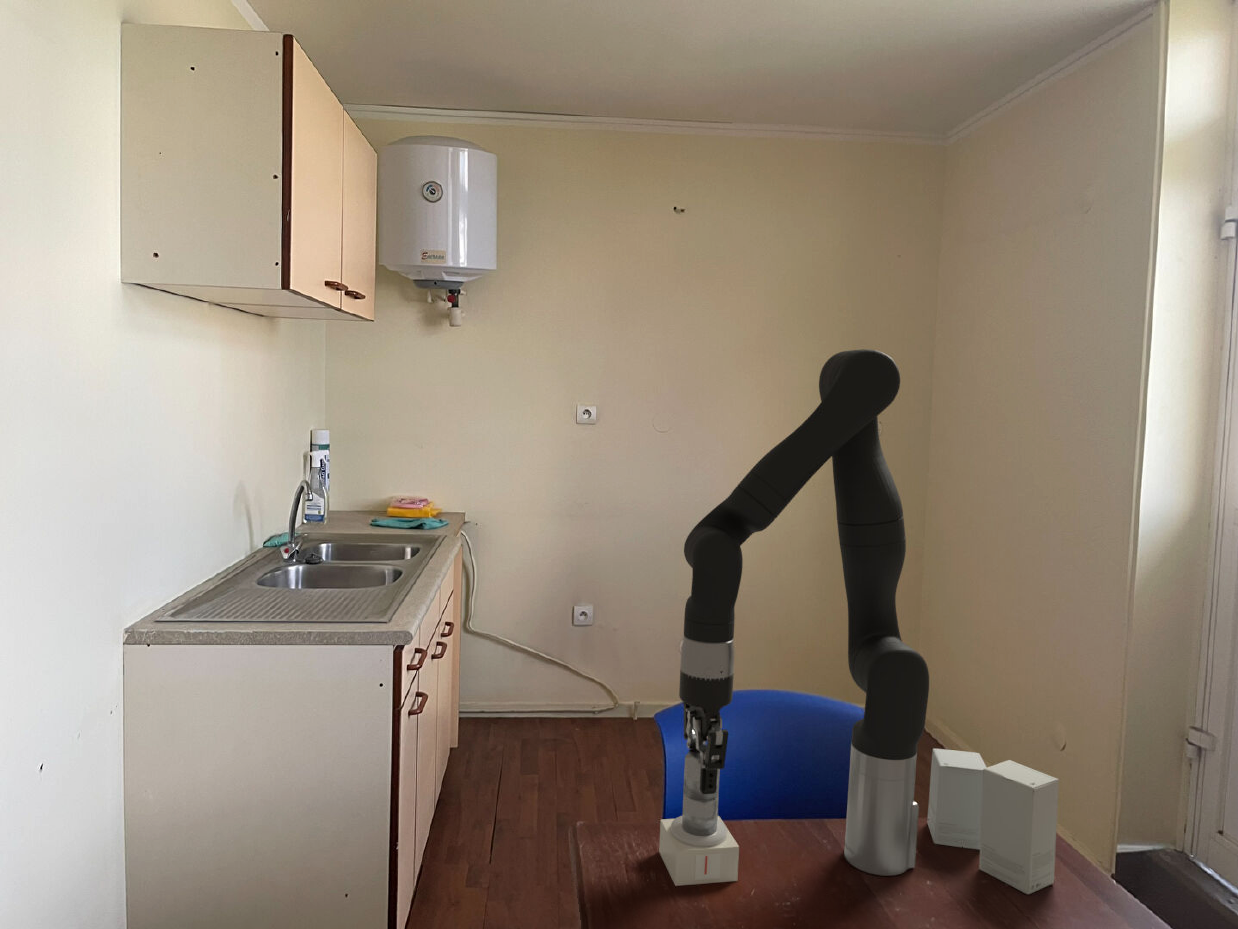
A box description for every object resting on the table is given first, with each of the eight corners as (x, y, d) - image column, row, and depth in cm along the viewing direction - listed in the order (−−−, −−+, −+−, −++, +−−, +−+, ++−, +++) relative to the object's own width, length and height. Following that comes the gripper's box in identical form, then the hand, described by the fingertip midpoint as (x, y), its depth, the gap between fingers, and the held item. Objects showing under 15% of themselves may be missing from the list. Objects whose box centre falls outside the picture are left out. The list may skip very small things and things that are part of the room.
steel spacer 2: (710, 818, 131) (712, 785, 130) (721, 835, 126) (723, 801, 125) (677, 820, 130) (679, 787, 129) (687, 837, 125) (689, 803, 124)
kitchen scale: (717, 848, 134) (719, 810, 133) (738, 882, 125) (740, 842, 124) (659, 852, 132) (660, 814, 131) (676, 887, 123) (677, 847, 122)
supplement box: (983, 851, 136) (990, 771, 135) (932, 844, 137) (938, 765, 136) (974, 828, 143) (980, 752, 142) (926, 822, 144) (931, 746, 143)
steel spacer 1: (712, 783, 130) (713, 750, 130) (723, 799, 125) (725, 765, 125) (679, 785, 129) (680, 752, 129) (689, 801, 124) (690, 767, 124)
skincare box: (1054, 885, 127) (1063, 779, 126) (1026, 897, 124) (1035, 789, 122) (1002, 857, 134) (1010, 757, 133) (974, 868, 131) (982, 766, 129)
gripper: (749, 684, 120) (743, 805, 121) (716, 652, 134) (711, 761, 135) (696, 685, 118) (690, 809, 119) (668, 653, 132) (663, 763, 133)
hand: (701, 783), depth 127 cm, fingers open, 5 cm apart
